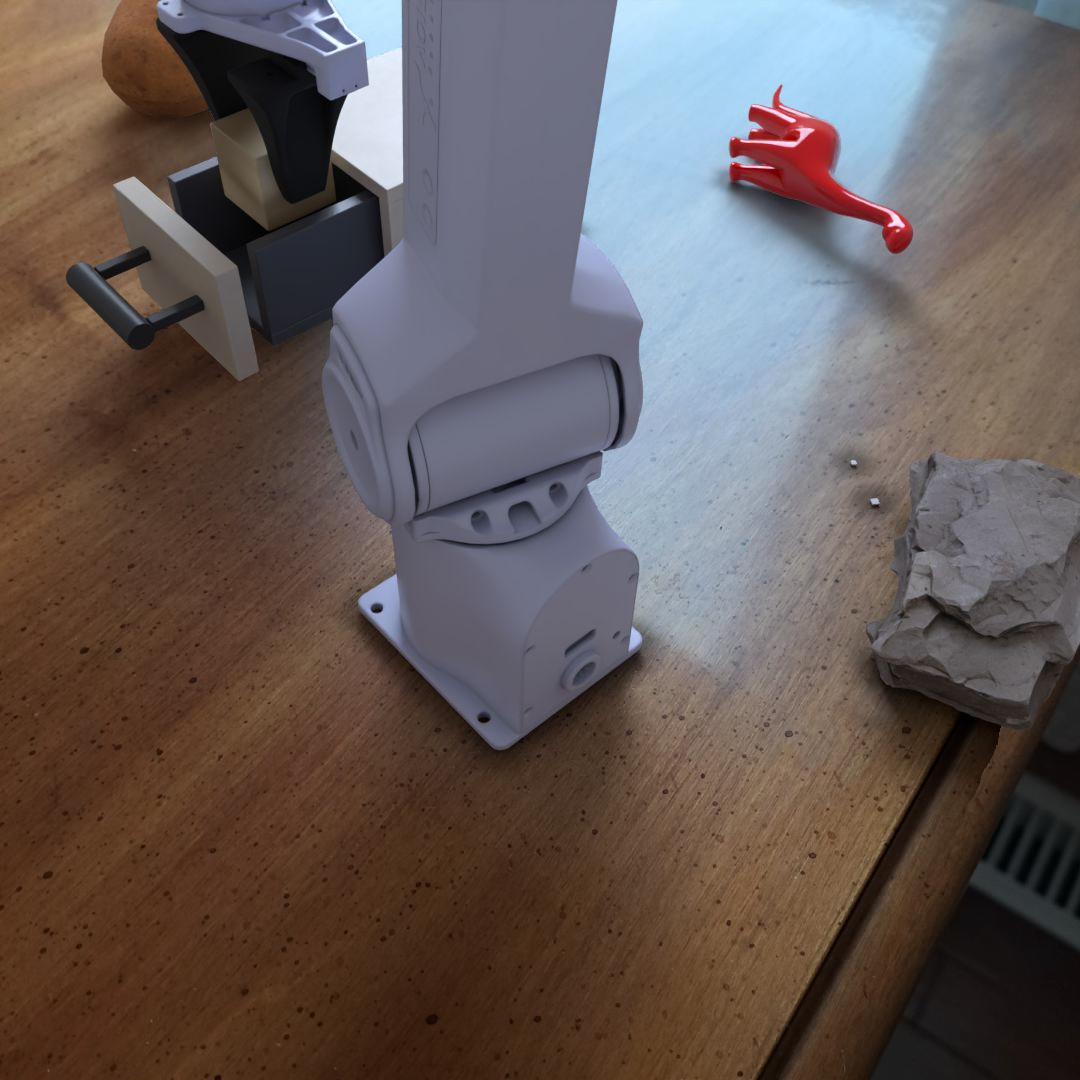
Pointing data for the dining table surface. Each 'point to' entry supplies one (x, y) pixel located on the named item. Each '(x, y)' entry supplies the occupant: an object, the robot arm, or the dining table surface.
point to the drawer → (232, 265)
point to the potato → (147, 64)
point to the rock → (985, 587)
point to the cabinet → (376, 141)
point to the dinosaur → (807, 167)
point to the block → (258, 174)
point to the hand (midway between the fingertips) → (278, 173)
